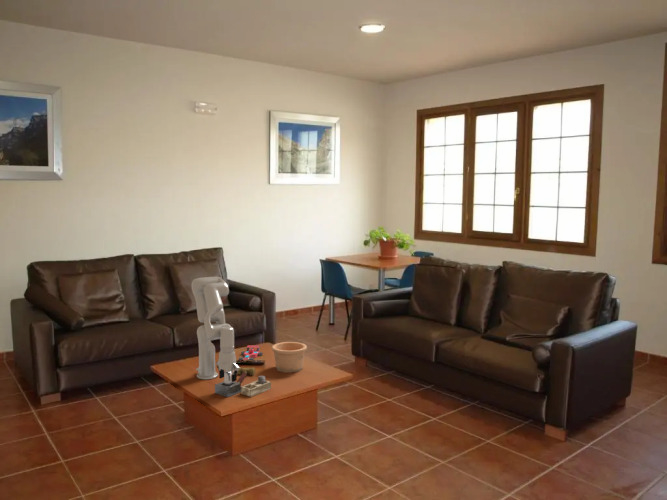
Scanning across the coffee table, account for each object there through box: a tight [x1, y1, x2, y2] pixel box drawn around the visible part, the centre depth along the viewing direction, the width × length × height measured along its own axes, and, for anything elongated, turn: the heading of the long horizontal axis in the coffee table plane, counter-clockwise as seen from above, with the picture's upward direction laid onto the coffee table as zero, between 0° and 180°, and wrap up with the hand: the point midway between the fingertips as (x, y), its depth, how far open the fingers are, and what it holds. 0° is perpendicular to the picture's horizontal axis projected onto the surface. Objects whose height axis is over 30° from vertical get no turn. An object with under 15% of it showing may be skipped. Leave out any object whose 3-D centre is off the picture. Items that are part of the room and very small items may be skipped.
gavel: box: [236, 366, 256, 384], centre depth 342 cm, size 21×5×10 cm
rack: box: [240, 375, 272, 398], centre depth 321 cm, size 8×16×7 cm, turn 144°
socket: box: [214, 380, 242, 398], centre depth 319 cm, size 10×10×5 cm
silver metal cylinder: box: [223, 370, 232, 386], centre depth 319 cm, size 4×4×12 cm
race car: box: [238, 344, 264, 361], centre depth 382 cm, size 14×6×25 cm
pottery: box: [271, 341, 308, 374], centre depth 361 cm, size 22×22×14 cm
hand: (227, 379), depth 318 cm, fingers open, 9 cm apart
